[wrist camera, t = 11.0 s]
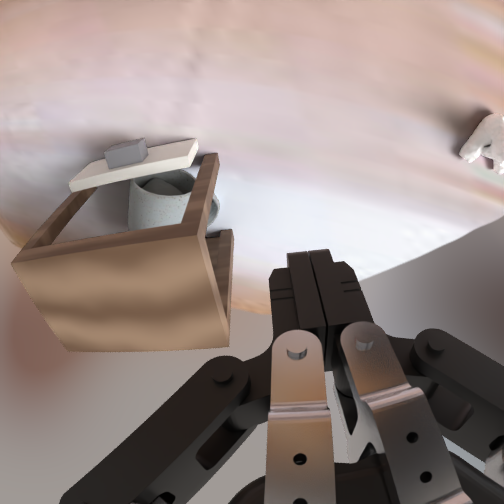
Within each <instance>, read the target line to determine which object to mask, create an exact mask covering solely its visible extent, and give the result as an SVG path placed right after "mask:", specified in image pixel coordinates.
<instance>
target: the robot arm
mask: <svg viewBox="0 0 504 504" xmlns="http://www.w3.org/2000/svg"><path fill="white" fill-rule="evenodd" d="M269 288H270V299H271V311H272V323H273V341H272V343H271V345H270V347H269V348H268V349H267V350H266V351H265V352H264V353H262V354H261V355H259V356H257V357H255V358H252V359H249V360H246V361H244V362H243V361H241V360H240V359H238V358H236V357H233V356H219V357H216V358H213V359H211V360H209V361H208V362H206V363H205V364H204V365H203V366H202V367H201V368H200V369H199V370H198V371H197V372H196V373H195V374H194V375H193V376H192V377H191V378H190V379H189V380H188V381H187V382H186V383H185V384H184V385H183V386H182V387H180V388H179V389H178V391H176V392H175V393H174V394H173V395H172V396H171V397H170V398H169V399H168V400H167V401H166V402H165V403H164V404H163V405H162V406H161V407H160V408H159V409H158V410H157V411H155V412H154V413H153V414H152V415H151V416H150V417H149V418H148V419H147V420H146V421H145V422H144V423H143V424H142V425H141V426H139V427H138V428H137V429H136V430H135V431H134V432H133V433H132V434H131V435H130V436H129V437H128V438H126V440H124V441H123V442H122V443H121V444H120V445H119V446H118V447H117V448H116V449H114V450H113V451H112V452H111V453H110V454H109V455H108V456H107V457H105V458H104V459H103V460H102V461H101V462H100V463H99V464H98V465H97V466H95V467H94V468H93V469H92V470H91V471H90V472H89V473H87V474H86V475H85V476H84V477H83V478H82V479H80V480H79V481H78V482H77V483H76V484H75V485H74V486H73V487H71V488H70V489H69V490H68V491H67V492H66V493H64V494H63V496H62V497H61V500H60V503H59V504H186V503H187V502H188V501H189V500H190V499H191V498H192V497H193V496H194V495H195V494H196V493H197V492H198V491H199V490H200V489H201V488H202V487H203V486H204V485H205V484H206V483H207V482H208V481H209V480H210V479H211V477H212V476H213V475H214V474H215V473H216V472H217V471H218V470H219V469H220V468H221V467H222V466H223V465H224V464H225V462H226V461H227V460H228V459H229V458H230V457H231V456H232V455H233V454H234V452H235V451H236V450H237V449H238V448H239V447H240V445H242V443H243V442H244V441H245V440H246V439H247V438H248V436H249V435H250V434H251V433H252V432H253V431H254V429H255V428H256V427H257V425H258V424H261V423H264V422H266V421H268V430H267V455H266V475H265V476H262V477H260V478H258V479H256V480H255V481H252V482H251V483H249V484H248V485H247V486H245V487H244V488H243V489H241V490H240V491H239V492H238V493H237V494H236V495H235V496H234V497H233V498H232V500H231V501H230V502H229V503H228V504H504V366H502V365H501V364H499V363H497V362H496V361H494V360H492V359H491V358H489V357H487V356H486V355H484V354H482V353H481V352H479V351H477V350H476V349H474V348H472V347H471V346H469V345H467V344H465V343H464V342H462V341H460V340H458V339H457V338H455V337H453V336H452V335H450V334H448V333H447V332H445V331H442V330H440V329H426V330H424V331H422V332H420V333H419V334H418V335H417V337H416V338H415V339H406V338H396V337H392V336H389V335H387V334H386V333H385V332H384V330H383V329H382V328H381V327H379V326H378V325H376V324H375V323H374V321H373V318H372V316H371V313H370V311H369V308H368V305H367V303H366V300H365V298H364V295H363V292H362V291H361V287H360V285H359V282H358V280H357V277H356V275H355V272H354V270H353V269H352V268H351V267H350V266H349V265H348V264H347V263H346V262H344V261H342V262H333V259H332V256H331V254H330V251H329V249H322V250H313V251H308V252H307V251H304V252H295V253H287V268H279V269H274V270H273V272H272V274H271V276H270V278H269ZM326 371H333V376H334V386H333V390H334V395H335V398H336V402H337V406H338V409H339V413H340V416H341V420H342V423H343V427H344V431H345V434H346V439H347V454H348V460H349V463H334V452H333V439H332V438H333V437H332V425H331V414H330V409H329V408H328V406H327V397H326V385H325V374H324V372H326ZM442 435H443V436H444V437H446V438H447V439H449V440H450V441H452V442H453V443H455V444H456V445H458V446H460V447H461V448H463V449H464V450H466V451H467V452H469V453H470V454H472V455H474V456H475V457H477V458H478V459H480V460H481V461H483V462H485V470H484V474H483V473H482V472H480V471H479V470H478V469H476V468H474V467H473V466H472V465H470V464H469V463H467V462H466V461H465V460H463V459H462V458H460V457H459V456H457V455H456V454H454V453H452V452H450V451H448V449H447V447H446V444H445V441H444V439H443V437H442Z"/></svg>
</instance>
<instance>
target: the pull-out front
mask: <svg viewBox="0 0 504 504" xmlns="http://www.w3.org/2000/svg"><path fill="white" fill-rule="evenodd" d="M197 151H198V143H197V138H196V139H191V140H186V141H180V142H175V143H170V144H165V145H161V146H156V147H151V148H147V146H146V142H145V138H141V139H136V140H132V141H128V142H124V143H120V144H117V145H113V146H111V147H110V148H109V149H107V150H106V151H105V152H104V155H105V158H106V159H102V160H98V161H94V162H91V163H90V164H89V165H87V166H86V167H85V168H84V169H83V170H82V171H81V172H80V173H78V174H77V175H76V176H75V177H74V178H73V179H72V180H71V181H70V182H69V183H68V184H69V187H70V190H71V192H76V191H80V190H84V189H88V188H92V187H96V186H100V185H104V184H109V183H113V182H118V181H122V180H127V179H131V178H136V177H141V176H146V175H150V174H156V173H161V172H166V171H171V170H177V169H182V168H188V167H190V166H191V164H192V162H193V159H194V157H195V155H196V153H197Z"/></svg>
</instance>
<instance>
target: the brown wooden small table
mask: <svg viewBox="0 0 504 504" xmlns="http://www.w3.org/2000/svg"><path fill="white" fill-rule="evenodd" d="M219 165H220V164H219V159H218V153H213V154H207V155H205V156H204V158H203V161H202V164H201V167H200V169H199V172H198V175H197V178H196V180H195V183H194V186H193V189H192V192H191V195H190V198H189V200H188V203H187V206H186V209H185V212H184V215H183V218H182V221H181V223H179V224H173V225H166V226H159V227H153V228H146V229H140V230H134V231H128V232H122V233H116V234H110V235H104V236H98V237H92V238H86V239H81V240H75V241H70V242H64V243H59V244H53V245H51V244H52V242H53V241H54V240H55V238H56V237H57V236H58V234H59V233H60V232H61V231H62V229H63V228H64V227H65V226H66V224H67V223H68V222H69V221H70V220H71V218H72V217H73V216H74V215H75V213H76V212H77V211H78V210H79V209H80V208H81V206H82V205H83V204H84V203H85V202H86V201H87V199H88V198H89V197H90V196H91V195H92V194H93V193H94V191H95V190H96V189H97V186H96V187H92V188H88V189H84V190H80V191H76V192H73V193H72V194H71V195H70V196H69V197H68V198H67V199H66V200H65V201H64V202H63V203H62V204H61V205H60V206H59V207H58V208H57V209H56V211H55V212H54V213H53V214H52V215H51V216H50V217H49V218H48V219H47V220H46V222H45V223H44V224H43V225H42V226H41V227H40V228H39V230H38V231H37V232H36V233H35V234H34V235H33V237H32V238H31V239H30V240H29V241H28V243H27V244H26V245H25V246H24V247H23V249H22V250H21V251H20V252H19V254H18V255H17V256H16V257H15V259H14V260H13V261H12V262H11V265H12V267H13V269H14V270H15V272H16V274H17V276H18V277H19V279H20V281H21V282H22V284H23V286H24V288H25V289H26V291H27V293H28V294H29V296H30V297H31V299H32V300H33V302H34V304H35V305H36V307H37V308H38V310H39V311H40V313H41V314H42V316H43V317H44V319H45V320H46V322H47V323H48V325H49V326H50V328H51V329H52V331H53V332H54V333H55V335H56V336H57V338H58V339H59V340H60V342H61V343H62V344H63V346H64V347H65V348H66V350H67V351H69V352H70V351H71V352H144V351H173V350H192V349H208V348H222V347H229V336H230V312H231V290H232V269H233V249H234V236H233V231H232V229H229V230H221V233H220V237H213V238H205V234H206V229H207V224H208V219H209V213H210V208H211V204H212V199H213V194H214V189H215V184H216V179H217V175H218V170H219Z"/></svg>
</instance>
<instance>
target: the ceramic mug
mask: <svg viewBox="0 0 504 504" xmlns="http://www.w3.org/2000/svg"><path fill="white" fill-rule="evenodd" d="M195 180H196V179H195V177H193V176H192V175H191V174H189V173H188V172H186V171H184V170H182V169H177V170H171V171H166V172H161V173H156V174H150V175H146V176H141V177H136V178H131V181H130V194H129V211H128V229H129V231H134V230H140V229H146V228H153V227H159V226H166V225H173V224H179V223H181V221H182V218H183V215H184V212H185V209H186V206H187V203H188V200H189V198H190V195H191V192H192V189H193V186H194V183H195ZM219 208H220V204H219V200H218V199H217V197H216V195H215V194H213V202H212V205H211V208H210V213H209V219H208V224H207V227H208V226H209V225H210V224H211V223H213V221H214V220H215V218H216V217H217V215H218V212H219Z"/></svg>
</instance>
